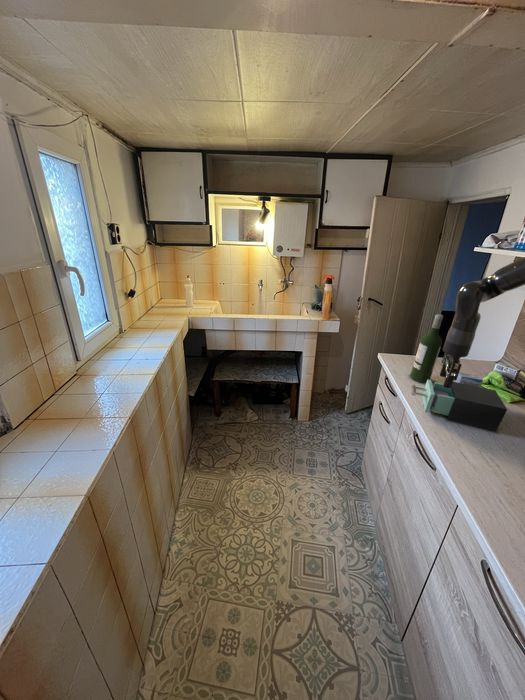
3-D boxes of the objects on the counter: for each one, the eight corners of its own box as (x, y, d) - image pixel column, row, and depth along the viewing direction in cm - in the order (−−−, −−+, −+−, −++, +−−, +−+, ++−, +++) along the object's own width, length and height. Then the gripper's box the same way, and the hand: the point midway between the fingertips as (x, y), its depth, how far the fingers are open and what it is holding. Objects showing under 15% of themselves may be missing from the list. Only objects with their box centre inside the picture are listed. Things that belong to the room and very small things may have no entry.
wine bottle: (407, 373, 131) (425, 311, 118) (424, 374, 131) (444, 312, 118) (414, 382, 124) (434, 317, 111) (432, 383, 124) (455, 318, 111)
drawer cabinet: (447, 420, 100) (455, 398, 96) (441, 401, 111) (449, 380, 107) (496, 432, 95) (507, 409, 91) (485, 411, 106) (495, 390, 102)
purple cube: (444, 402, 107) (447, 392, 105) (445, 409, 103) (449, 399, 101) (430, 399, 108) (434, 390, 106) (432, 406, 104) (435, 396, 103)
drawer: (409, 408, 105) (414, 390, 101) (407, 392, 114) (412, 376, 111) (467, 422, 98) (475, 403, 95) (461, 404, 108) (468, 387, 105)
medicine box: (454, 394, 116) (461, 376, 112) (451, 389, 120) (457, 371, 116) (476, 398, 114) (483, 380, 110) (472, 393, 118) (479, 375, 114)
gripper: (477, 350, 88) (460, 394, 95) (467, 335, 100) (453, 375, 107) (449, 346, 90) (435, 388, 97) (443, 332, 102) (430, 370, 109)
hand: (444, 381), depth 102 cm, fingers open, 8 cm apart
